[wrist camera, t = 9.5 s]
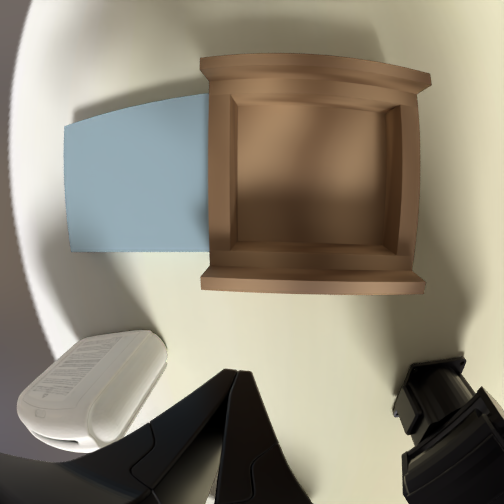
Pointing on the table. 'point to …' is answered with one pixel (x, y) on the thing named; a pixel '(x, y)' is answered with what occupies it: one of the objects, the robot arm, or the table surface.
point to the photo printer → (93, 390)
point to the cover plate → (139, 178)
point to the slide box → (312, 174)
